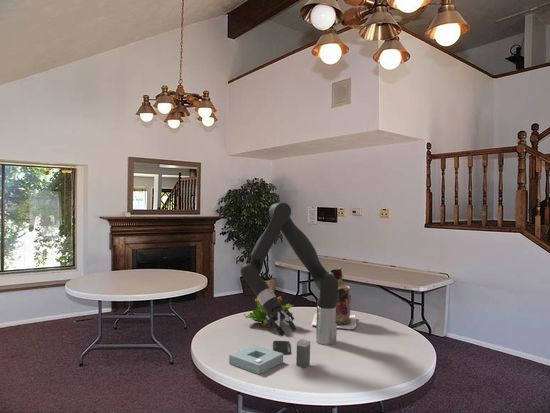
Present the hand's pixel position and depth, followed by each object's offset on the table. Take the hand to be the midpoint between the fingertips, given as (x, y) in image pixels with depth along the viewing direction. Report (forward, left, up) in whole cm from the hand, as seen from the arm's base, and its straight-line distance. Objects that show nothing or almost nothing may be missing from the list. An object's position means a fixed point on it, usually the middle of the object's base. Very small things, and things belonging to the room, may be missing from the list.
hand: (289, 333), depth 162 cm
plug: (-5, +5, -12) cm, 14 cm away
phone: (+1, -15, -12) cm, 19 cm away
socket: (+14, +1, -12) cm, 18 cm away
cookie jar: (-36, -53, -12) cm, 65 cm away
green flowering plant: (+1, -51, -12) cm, 52 cm away
